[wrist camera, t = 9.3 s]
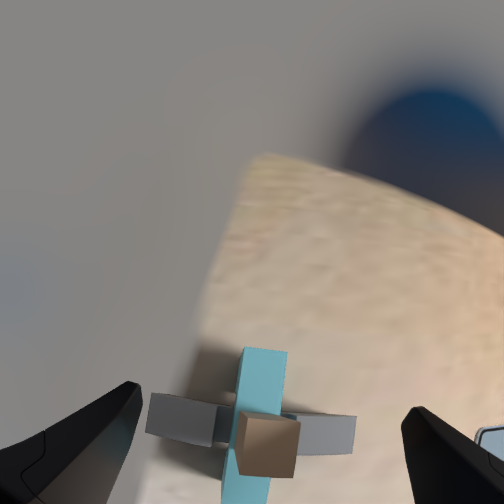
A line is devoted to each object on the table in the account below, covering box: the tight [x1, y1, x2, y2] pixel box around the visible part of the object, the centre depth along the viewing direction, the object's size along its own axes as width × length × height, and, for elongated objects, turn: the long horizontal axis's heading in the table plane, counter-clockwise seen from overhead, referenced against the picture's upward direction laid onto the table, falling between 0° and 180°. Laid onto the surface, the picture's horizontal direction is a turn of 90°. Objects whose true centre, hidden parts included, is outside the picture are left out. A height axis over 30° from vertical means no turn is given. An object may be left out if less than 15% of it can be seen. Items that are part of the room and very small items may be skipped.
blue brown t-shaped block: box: [221, 347, 301, 504], centre depth 13 cm, size 10×2×10 cm, turn 173°
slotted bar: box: [145, 393, 357, 456], centre depth 15 cm, size 12×2×5 cm, turn 82°
